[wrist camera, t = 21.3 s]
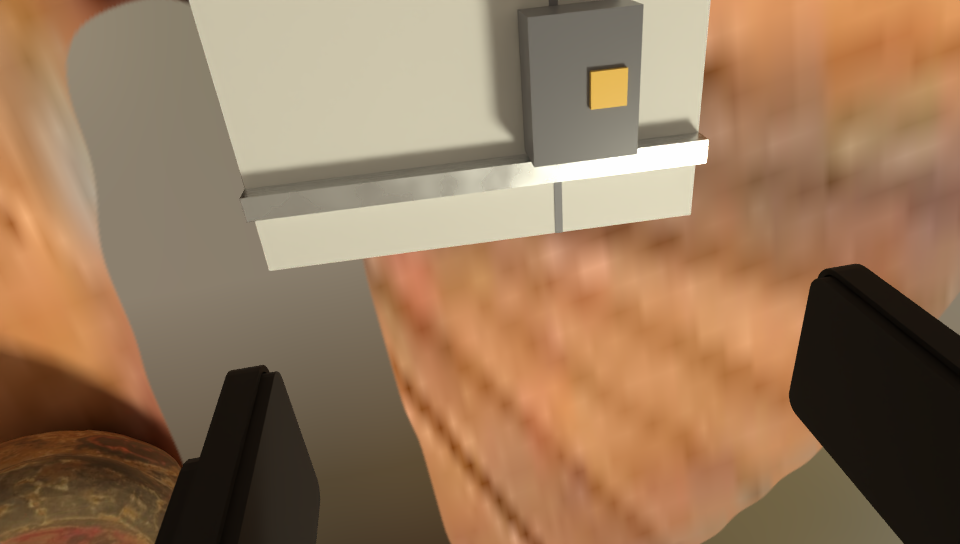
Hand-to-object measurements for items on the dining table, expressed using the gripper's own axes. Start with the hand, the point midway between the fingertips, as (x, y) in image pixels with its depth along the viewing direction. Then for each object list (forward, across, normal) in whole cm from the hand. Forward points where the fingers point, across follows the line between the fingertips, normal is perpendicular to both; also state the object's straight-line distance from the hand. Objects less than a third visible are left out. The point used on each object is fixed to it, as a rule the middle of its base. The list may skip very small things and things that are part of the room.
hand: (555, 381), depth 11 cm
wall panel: (+30, -2, 0) cm, 30 cm away
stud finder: (+28, -8, +2) cm, 29 cm away
